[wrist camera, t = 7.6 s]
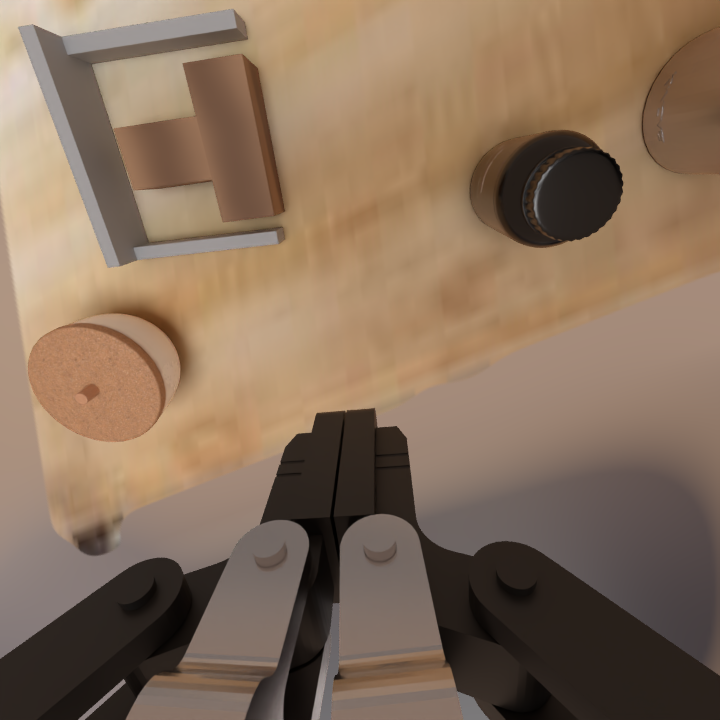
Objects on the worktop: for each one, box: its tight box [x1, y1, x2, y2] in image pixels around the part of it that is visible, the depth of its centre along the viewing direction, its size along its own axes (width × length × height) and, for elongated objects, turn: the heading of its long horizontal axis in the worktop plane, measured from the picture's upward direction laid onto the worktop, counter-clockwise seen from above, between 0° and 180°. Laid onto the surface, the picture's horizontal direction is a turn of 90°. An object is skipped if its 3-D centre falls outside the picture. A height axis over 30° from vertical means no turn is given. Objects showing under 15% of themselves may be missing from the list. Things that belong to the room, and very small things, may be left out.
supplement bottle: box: [470, 130, 623, 248], centre depth 27 cm, size 7×7×12 cm
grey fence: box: [18, 9, 285, 268], centre depth 30 cm, size 13×15×5 cm
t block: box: [114, 54, 285, 222], centre depth 30 cm, size 10×10×4 cm
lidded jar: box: [28, 313, 180, 442], centre depth 36 cm, size 11×11×9 cm
